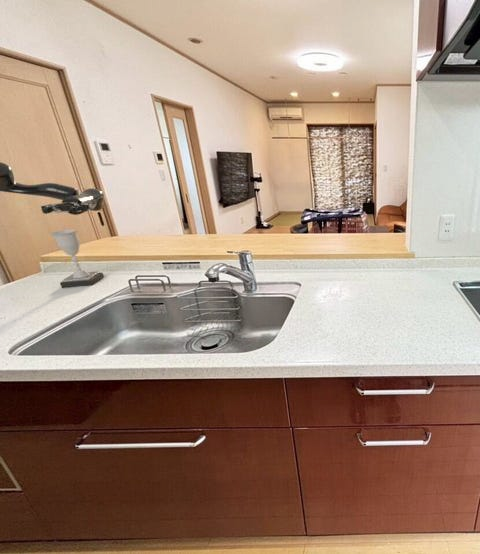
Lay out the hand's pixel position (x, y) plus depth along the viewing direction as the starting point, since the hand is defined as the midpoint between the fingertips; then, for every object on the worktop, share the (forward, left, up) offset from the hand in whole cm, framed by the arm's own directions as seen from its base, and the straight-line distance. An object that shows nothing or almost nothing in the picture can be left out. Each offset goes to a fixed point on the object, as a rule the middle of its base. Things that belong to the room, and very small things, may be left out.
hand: (58, 210), depth 116 cm
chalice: (+4, -8, -25) cm, 27 cm away
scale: (+4, -8, -28) cm, 29 cm away
